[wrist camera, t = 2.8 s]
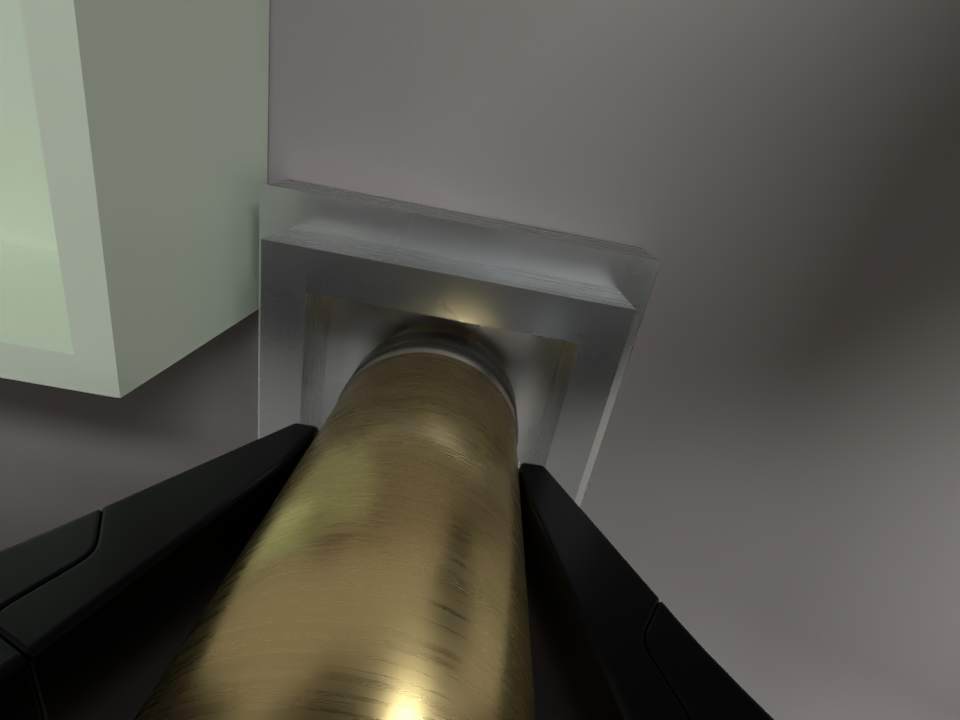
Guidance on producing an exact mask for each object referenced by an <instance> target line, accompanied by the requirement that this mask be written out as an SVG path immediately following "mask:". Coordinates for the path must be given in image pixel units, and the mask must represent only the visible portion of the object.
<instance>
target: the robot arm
mask: <svg viewBox="0 0 960 720" xmlns="http://www.w3.org/2000/svg"><path fill="white" fill-rule="evenodd" d="M318 432H319V429H318V428H317V427H316V426H311V425H305V424H300V423H295V424H292V425H289V426H287V427H285V428H283V429H280V430H278V431H276V432H274V433H271V434H269V435H267V436H265V437H262V438H260V439H258V440H256V441H253V442H251V443H249V444H246V445H244V446H242V447H240V448H237V449H235V450H233V451H231V452H228V453H226V454H224V455H222V456H219V457H217V458H215V459H212V460H210V461H208V462H206V463H203V464H201V465H199V466H197V467H194V468H192V469H190V470H188V471H185V472H183V473H181V474H179V475H176V476H174V477H172V478H169V479H167V480H165V481H163V482H160V483H158V484H156V485H154V486H151V487H149V488H147V489H144V490H142V491H140V492H138V493H135V494H133V495H131V496H129V497H126V498H124V499H122V500H119V501H117V502H115V503H113V504H110V505H108V506H106V507H104V508H103V510H102V511H100V510H97V511H94V512H92V513H90V514H87V515H85V516H83V517H81V518H78V519H76V520H74V521H72V522H69V523H67V524H65V525H62V526H60V527H58V528H55V529H53V530H50V531H48V532H46V533H43V534H41V535H39V536H36V537H34V538H31V539H29V540H27V541H24V542H22V543H19V544H17V545H14V546H12V547H9V548H7V549H4V550H1V551H0V720H134V718H135V717H136V715H137V714H138V712H139V710H140V709H141V707H142V706H143V704H144V703H145V701H146V700H147V698H148V696H149V695H150V693H151V692H152V690H153V689H154V687H155V686H156V684H157V682H158V681H159V679H160V678H161V676H162V675H163V673H164V672H165V670H166V668H167V667H168V665H169V664H170V662H171V661H172V659H173V658H174V656H175V654H176V653H177V651H178V650H179V648H180V647H181V645H182V644H183V642H184V640H185V639H186V637H187V636H188V634H189V633H190V631H191V630H192V628H193V626H194V625H195V623H196V622H197V620H198V619H199V617H200V616H201V614H202V612H203V611H204V609H205V608H206V606H207V605H208V603H209V602H210V600H211V599H212V597H213V595H214V594H215V592H216V591H217V589H218V588H219V586H220V585H221V583H222V581H223V580H224V578H225V577H226V575H227V574H228V572H229V571H230V569H231V567H232V566H233V564H234V563H235V561H236V560H237V558H238V557H239V555H240V553H241V552H242V550H243V549H244V547H245V546H246V544H247V543H248V541H249V539H250V538H251V536H252V535H253V533H254V532H255V530H256V529H257V527H258V525H259V524H260V522H261V521H262V519H263V518H264V516H265V515H266V513H267V511H268V510H269V508H270V507H271V505H272V504H273V502H274V501H275V499H276V497H277V496H278V494H279V493H280V491H281V490H282V488H283V487H284V485H285V483H286V482H287V480H288V479H289V477H290V476H291V474H292V473H293V471H294V469H295V468H296V466H297V465H298V463H299V462H300V460H301V459H302V457H303V455H304V454H305V452H306V451H307V449H308V448H309V446H310V445H311V443H312V441H313V440H314V438H315V437H316V435H317V434H318ZM519 485H520V499H521V513H522V528H523V542H524V556H525V570H526V585H527V599H528V613H529V628H530V642H531V656H532V671H533V685H534V699H535V714H536V720H774V719H773V718H772V717H771V716H770V715H769V714H768V713H767V712H766V711H765V710H764V709H763V708H762V707H761V706H760V705H759V704H758V703H757V702H756V701H755V700H753V699H752V698H751V697H750V696H749V695H748V694H747V693H746V692H745V691H744V690H743V689H742V688H741V687H740V686H739V685H738V684H737V683H736V682H735V680H734V679H733V678H732V677H731V676H730V675H729V674H728V673H727V672H726V671H725V670H724V669H723V668H722V667H721V666H720V665H719V664H718V663H717V662H716V661H715V660H714V659H713V658H712V657H711V656H710V655H709V654H708V653H707V652H706V651H705V650H704V648H703V647H702V646H701V645H700V644H699V643H698V642H697V641H696V640H695V639H694V637H693V636H692V635H691V634H690V633H689V632H688V631H687V630H686V629H685V628H684V626H683V625H682V624H681V623H680V622H679V621H678V620H677V619H676V617H675V616H674V615H673V614H672V613H671V612H670V611H669V609H668V608H667V607H666V606H665V605H664V604H663V603H662V602H659V598H658V597H657V596H656V595H655V594H654V592H653V591H652V590H651V589H650V588H649V587H648V585H647V584H646V583H645V582H644V581H643V580H642V579H641V577H640V576H639V575H638V574H637V573H636V572H635V571H634V569H633V568H632V567H631V566H630V565H629V564H628V562H627V561H626V560H625V559H624V558H623V557H622V556H621V554H620V553H619V552H618V551H617V550H616V549H615V547H614V546H613V545H612V544H611V543H610V542H609V541H608V539H607V538H606V537H605V536H604V535H603V534H602V533H601V531H600V530H599V529H598V528H597V527H596V526H595V524H594V523H593V522H592V521H591V520H590V519H589V518H588V516H587V515H586V514H585V513H584V512H583V511H582V510H581V508H580V507H579V506H578V505H577V504H576V503H575V501H574V500H573V499H572V498H571V497H570V496H569V495H568V493H567V492H566V491H565V490H564V489H563V488H562V486H561V485H560V484H559V483H558V482H557V481H556V480H555V478H554V477H553V476H552V475H551V474H550V473H549V472H548V470H547V469H546V468H545V467H544V466H541V465H536V464H530V463H522V464H521V465H520V467H519ZM658 602H659V603H658Z"/></svg>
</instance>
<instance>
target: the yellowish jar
mask: <svg viewBox="0 0 960 720" xmlns="http://www.w3.org/2000/svg"><path fill="white" fill-rule="evenodd" d="M517 445H518V421H517V408H516V400H515V395H514V391H513V388H512V385H511V382H510V378H509V376H508V374H507V371H506V369H505V367H504V366H503V364H502V363H501V361H500V360H499V358H498V357H497V356H496V355H495V354H494V352H492V351H491V350H490V349H489V348H488V347H487V346H486V345H485V344H483V343H482V342H480V341H479V340H478V339H476V338H474V337H472V336H470V335H468V334H466V333H463V332H461V331H458V330H455V329H451V328H447V327H439V326H422V327H414V328H410V329H406V330H403V331H400V332H398V333H396V334H393V335H392V336H390V337H388V338H386V339H385V340H383V341H382V342H381V343H380V344H378V345H377V346H376V347H375V348H374V349H373V350H372V351H371V352H370V353H369V354H368V355H367V356H366V357H365V358H364V359H363V360H362V361H361V363H360V364H359V366H358V367H357V369H356V370H355V372H354V373H353V375H352V376H351V378H350V379H349V381H348V382H347V384H346V385H345V387H344V388H343V390H342V392H341V394H340V396H339V398H338V400H337V404H336V406H335V407H334V409H333V410H332V412H331V413H330V415H329V417H328V418H327V420H326V421H325V423H324V424H323V426H322V427H321V429H320V431H319V432H318V434H317V435H316V437H315V438H314V440H313V441H312V443H311V445H310V446H309V448H308V449H307V451H306V452H305V454H304V455H303V457H302V459H301V460H300V462H299V463H298V465H297V466H296V468H295V469H294V471H293V473H292V474H291V476H290V477H289V479H288V480H287V482H286V483H285V485H284V487H283V488H282V490H281V491H280V493H279V494H278V496H277V497H276V499H275V501H274V502H273V504H272V505H271V507H270V508H269V510H268V511H267V513H266V515H265V516H264V518H263V519H262V521H261V522H260V524H259V525H258V527H257V529H256V530H255V532H254V533H253V535H252V536H251V538H250V539H249V541H248V543H247V544H246V546H245V547H244V549H243V550H242V552H241V553H240V555H239V557H238V558H237V560H236V561H235V563H234V564H233V566H232V567H231V569H230V571H229V572H228V574H227V575H226V577H225V578H224V580H223V581H222V583H221V585H220V586H219V588H218V589H217V591H216V592H215V594H214V595H213V597H212V599H211V600H210V602H209V603H208V605H207V606H206V608H205V609H204V611H203V612H202V614H201V616H200V617H199V619H198V620H197V622H196V623H195V625H194V626H193V628H192V630H191V631H190V633H189V634H188V636H187V637H186V639H185V640H184V642H183V644H182V645H181V647H180V648H179V650H178V651H177V653H176V654H175V656H174V658H173V659H172V661H171V662H170V664H169V665H168V667H167V668H166V670H165V672H164V673H163V675H162V676H161V678H160V679H159V681H158V682H157V684H156V686H155V687H154V689H153V690H152V692H151V693H150V695H149V696H148V698H147V700H146V701H145V703H144V704H143V706H142V707H141V709H140V710H139V712H138V714H137V715H136V717H135V718H134V720H536V714H535V699H534V685H533V671H532V656H531V642H530V628H529V613H528V599H527V585H526V570H525V556H524V542H523V528H522V513H521V499H520V485H519V470H518V456H517Z"/></svg>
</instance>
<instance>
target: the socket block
mask: <svg viewBox="0 0 960 720" xmlns="http://www.w3.org/2000/svg"><path fill="white" fill-rule="evenodd" d="M660 264H661V261H660V260H658V259H657V258H655V257H654V256H652V255H651V254H649V253H647V252H646V251H644V250H643V249H641V248H637V247H632V246H627V245H622V244H617V243H611V242H606V241H601V240H596V239H591V238H586V237H581V236H576V235H570V234H565V233H560V232H555V231H550V230H545V229H540V228H535V227H529V226H524V225H519V224H514V223H509V222H504V221H499V220H493V219H488V218H483V217H478V216H473V215H468V214H463V213H458V212H452V211H447V210H442V209H437V208H432V207H427V206H422V205H417V204H411V203H406V202H401V201H396V200H391V199H386V198H381V197H376V196H370V195H365V194H360V193H355V192H350V191H345V190H340V189H335V188H329V187H324V186H319V185H314V184H309V183H304V182H299V181H293V180H284V181H276V182H267V183H260V198H259V336H258V439H260V438H262V437H265V436H267V435H269V434H271V433H274V432H276V431H278V430H280V429H283V428H285V427H287V426H289V425H292V424H295V423H300V424H305V425H311V426H316V427H317V428H318V429H319V431H320V429H321V427H322V426H323V424H324V423H325V421H326V420H327V418H328V417H329V415H330V413H331V412H332V410H333V409H334V407H335V406H336V404H337V400H338V398H339V396H340V394H341V392H342V390H343V388H344V387H345V385H346V384H347V382H348V381H349V379H350V378H351V376H352V375H353V373H354V372H355V370H356V369H357V367H358V366H359V364H360V363H361V361H362V360H363V359H364V358H365V357H366V356H367V355H368V354H369V353H370V352H371V351H372V350H373V349H374V348H375V347H376V346H377V345H378V344H380V343H381V342H382V341H383V340H385V339H386V338H388V337H390V336H392V335H393V334H396V333H398V332H400V331H403V330H406V329H410V328H414V327H422V326H439V327H447V328H451V329H455V330H458V331H461V332H463V333H466V334H468V335H470V336H472V337H474V338H476V339H478V340H479V341H480V342H482V343H483V344H485V345H486V346H487V347H488V348H489V349H490V350H491V351H492V352H494V354H495V355H496V356H497V357H498V358H499V360H500V361H501V363H502V364H503V366H504V367H505V369H506V371H507V374H508V376H509V378H510V382H511V385H512V388H513V391H514V395H515V400H516V408H517V421H518V445H517V456H518V470H519V467H520V465H521V464H522V463H530V464H536V465H541V466H544V467H545V468H546V469H547V470H548V472H549V473H550V474H551V475H552V476H553V477H554V478H555V480H556V481H557V482H558V483H559V484H560V485H561V486H562V488H563V489H564V490H565V491H566V492H567V493H568V495H569V496H570V497H571V498H572V499H573V500H574V501H575V503H576V504H577V505H578V506H579V507H580V506H581V503H582V500H583V497H584V494H585V491H586V488H587V485H588V482H589V479H590V475H591V472H592V469H593V466H594V463H595V460H596V457H597V454H598V451H599V448H600V445H601V442H602V439H603V436H604V433H605V430H606V427H607V424H608V421H609V418H610V415H611V412H612V409H613V406H614V403H615V400H616V397H617V394H618V391H619V388H620V385H621V382H622V379H623V376H624V373H625V370H626V367H627V364H628V360H629V357H630V354H631V351H632V348H633V345H634V342H635V339H636V336H637V333H638V330H639V327H640V324H641V321H642V318H643V315H644V312H645V309H646V306H647V303H648V300H649V297H650V294H651V291H652V288H653V285H654V282H655V279H656V276H657V273H658V270H659V267H660Z"/></svg>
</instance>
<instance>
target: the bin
mask: <svg viewBox="0 0 960 720" xmlns="http://www.w3.org/2000/svg"><path fill="white" fill-rule="evenodd" d="M269 7H270V0H0V378H6V379H12V380H17V381H23V382H29V383H35V384H40V385H46V386H52V387H58V388H63V389H69V390H75V391H81V392H86V393H92V394H98V395H104V396H110V397H115V398H122V397H123V396H125V395H126V394H128V393H129V392H131V391H132V390H134V389H135V388H137V387H139V386H140V385H142V384H143V383H145V382H146V381H148V380H149V379H151V378H153V377H154V376H156V375H157V374H159V373H160V372H162V371H163V370H165V369H166V368H168V367H170V366H171V365H173V364H174V363H176V362H177V361H179V360H180V359H182V358H183V357H185V356H187V355H188V354H190V353H191V352H193V351H194V350H196V349H197V348H199V347H200V346H202V345H204V344H205V343H207V342H208V341H210V340H211V339H213V338H214V337H216V336H218V335H219V334H221V333H222V332H224V331H225V330H227V329H228V328H230V327H231V326H233V325H235V324H236V323H238V322H239V321H241V320H242V319H244V318H245V317H247V316H248V315H250V314H252V313H253V312H255V311H256V310H258V309H259V198H260V183H267V161H268V84H269Z"/></svg>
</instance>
